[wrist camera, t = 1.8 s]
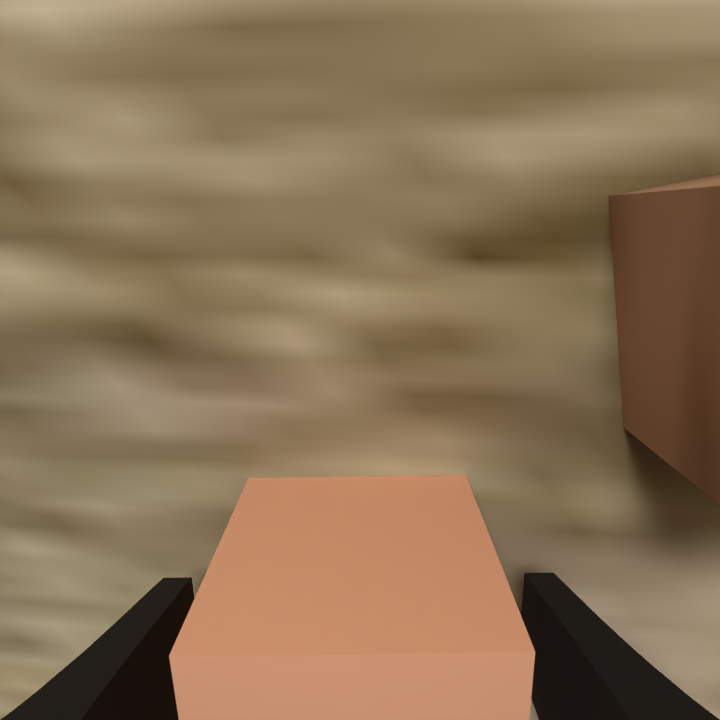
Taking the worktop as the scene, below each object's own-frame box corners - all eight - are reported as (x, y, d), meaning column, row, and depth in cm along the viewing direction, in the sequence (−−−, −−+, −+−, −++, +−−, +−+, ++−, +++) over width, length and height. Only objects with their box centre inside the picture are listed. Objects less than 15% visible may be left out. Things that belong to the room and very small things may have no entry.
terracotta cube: (465, 473, 12) (535, 652, 7) (458, 648, 13) (513, 901, 8) (249, 476, 12) (168, 656, 7) (264, 650, 13) (206, 901, 8)
